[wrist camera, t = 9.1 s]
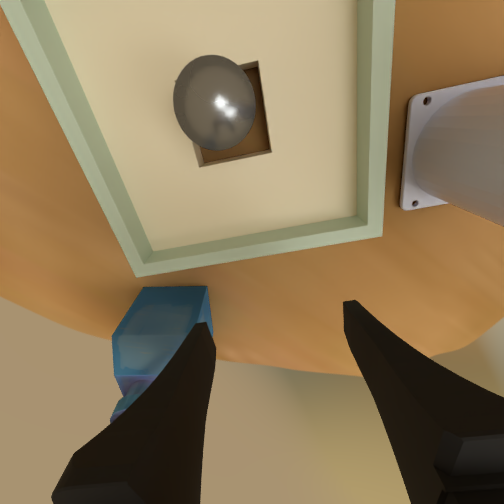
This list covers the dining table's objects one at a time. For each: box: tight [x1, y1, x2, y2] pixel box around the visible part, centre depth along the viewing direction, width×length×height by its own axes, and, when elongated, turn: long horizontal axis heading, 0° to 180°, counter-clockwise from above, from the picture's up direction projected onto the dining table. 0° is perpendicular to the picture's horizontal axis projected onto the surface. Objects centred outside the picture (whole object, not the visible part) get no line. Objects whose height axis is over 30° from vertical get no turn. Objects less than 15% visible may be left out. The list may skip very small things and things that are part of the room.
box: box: [0, 0, 395, 278], centre depth 16 cm, size 18×18×4 cm
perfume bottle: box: [110, 286, 213, 423], centre depth 20 cm, size 6×6×12 cm
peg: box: [173, 55, 256, 150], centre depth 14 cm, size 4×4×7 cm
